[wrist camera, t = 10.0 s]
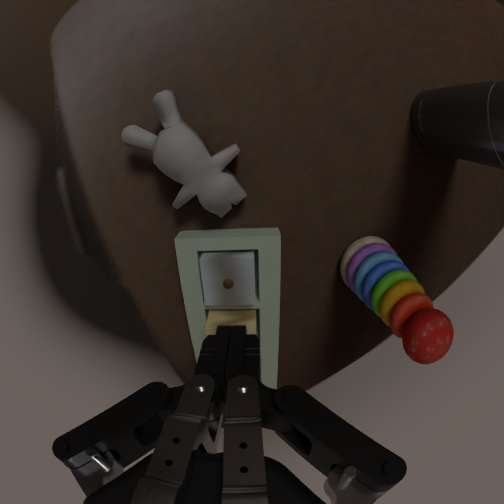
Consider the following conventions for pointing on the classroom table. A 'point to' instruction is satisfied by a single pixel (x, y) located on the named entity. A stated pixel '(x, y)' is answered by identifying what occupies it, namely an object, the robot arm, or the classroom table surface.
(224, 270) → the grey block
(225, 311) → the tile
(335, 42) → the classroom table surface
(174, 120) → the bunny figurine
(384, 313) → the stacking toy
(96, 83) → the classroom table surface
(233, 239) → the number board
